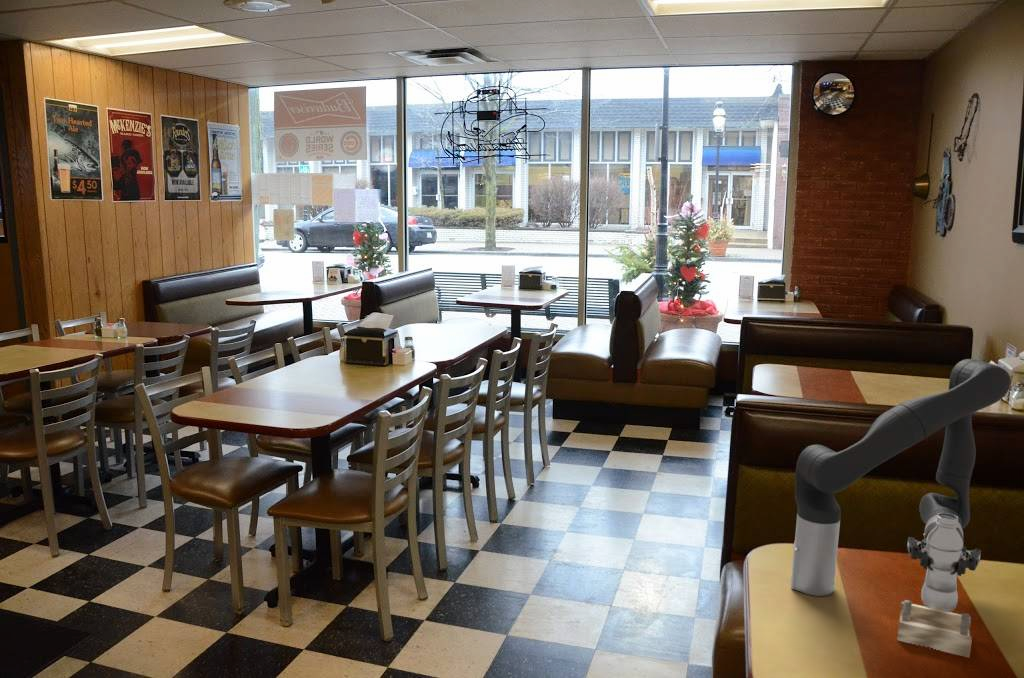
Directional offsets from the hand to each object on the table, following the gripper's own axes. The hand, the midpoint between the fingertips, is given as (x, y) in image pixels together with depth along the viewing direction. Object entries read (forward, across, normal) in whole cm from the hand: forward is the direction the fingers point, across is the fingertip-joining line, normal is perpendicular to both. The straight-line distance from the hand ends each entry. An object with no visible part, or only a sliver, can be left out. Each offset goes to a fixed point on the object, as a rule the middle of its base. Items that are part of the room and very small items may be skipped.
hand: (942, 567), depth 164 cm
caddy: (-2, 0, +16) cm, 17 cm away
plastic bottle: (-3, 0, +10) cm, 11 cm away
